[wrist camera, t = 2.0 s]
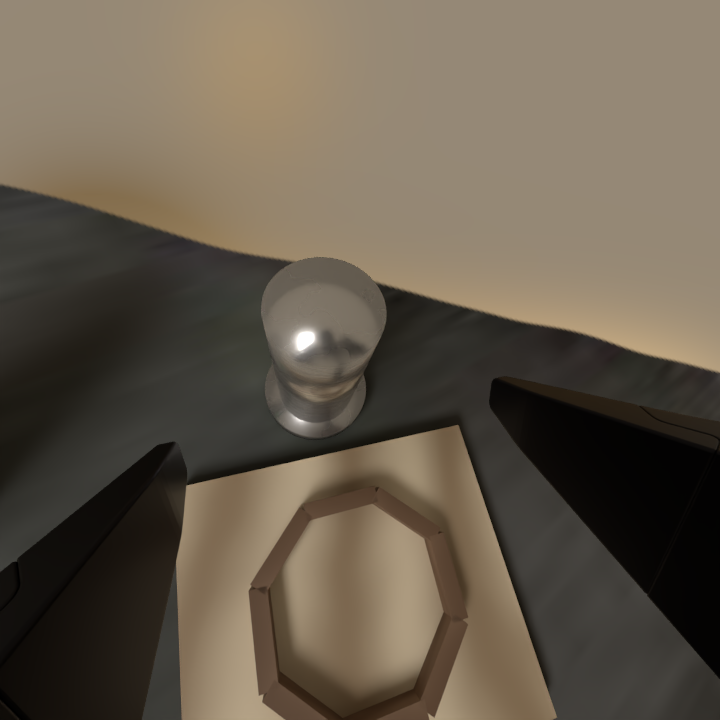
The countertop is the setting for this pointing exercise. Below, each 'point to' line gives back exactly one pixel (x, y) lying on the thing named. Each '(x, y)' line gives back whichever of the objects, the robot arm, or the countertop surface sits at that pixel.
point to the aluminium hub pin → (320, 344)
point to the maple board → (352, 593)
